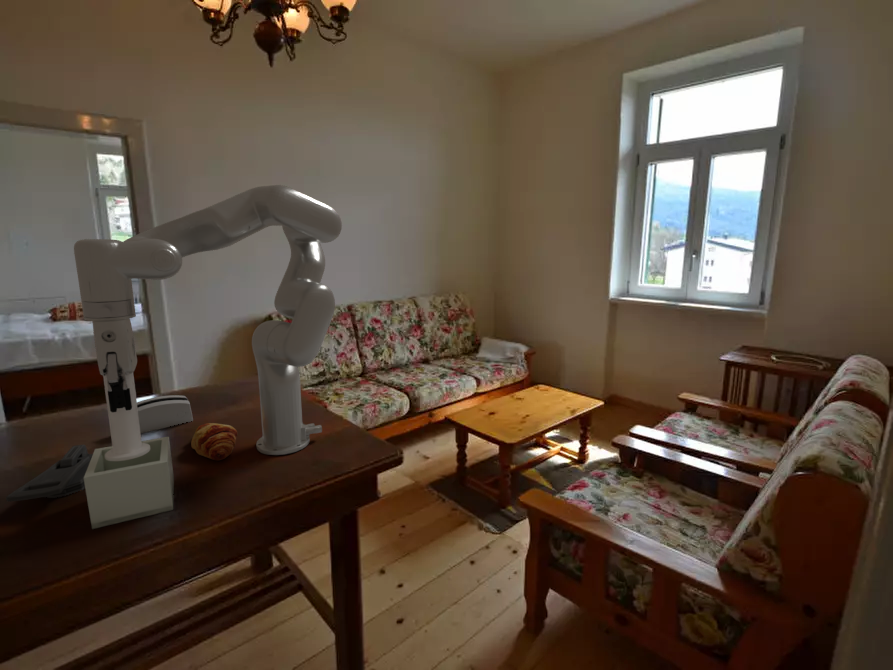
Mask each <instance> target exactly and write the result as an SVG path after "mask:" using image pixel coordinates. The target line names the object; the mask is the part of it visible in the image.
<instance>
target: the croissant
mask: <svg viewBox="0 0 893 670" xmlns="http://www.w3.org/2000/svg"><path fill="white" fill-rule="evenodd" d="M237 437H238V431H237V429H236V428H235V427H233V425H229V424H224V423H223V424H222V423H216V422H215V423H214V422H212V423H211V422H209V423H208V422H207V423H203V424H201V425H198V427H197V428H196V429H195V432H194V434H193V436H192V438H191V441H190V442H191V445H190V446H191V448H192V449H193V450H195V452H196V454H198V455H199V456H202V457H205V458H208V459H210V460H214V461H222V460H224V459H226V458H227V457H229V456H230V455H231V454H232V452H233V451H234V448H235V447H236V441H237Z"/></svg>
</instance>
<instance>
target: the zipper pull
mask: <svg viewBox="0 0 893 670" xmlns="http://www.w3.org/2000/svg"><path fill="white" fill-rule="evenodd" d="M92 456H93V453H89V452H88V449H87V446H86V444H77V445H72V446H71V447H70V448H69V450H68V451H67V452H66V453H65V454H64V456H62V459H59V460H58V461H56V462H55V463H54V464H52V465H51V466H50V467H48V468H47V469H46V470H45V471H43V472H42V473H40V474H38V475H37V476H36V477H33V479H31V480H30V481H28V482H26V483H25V484H23V485H22V486H20V487H19V488H17V489H16V490H14V491H12V492H11V493H9V494H8V495H7V496H6V498H5V499H6V502H8V503H10V502H18V501H19V502H21V501H27V500H33V499H38V498H46V497H47V498H46V499H56V498H57V497H58V498H63V497H62V496H64V497H67V496H66V495H68V496H70V495H69V494H71V495H73V494H72V493H74V494H76V493H75V492H77V493H79V492H78V491H80V490H82V491H84V489H85V483H84V476H85V473H86V471H87V468H88V466H89V463H90V461H91V458H92ZM80 492H81V491H80Z"/></svg>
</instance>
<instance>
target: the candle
mask: <svg viewBox="0 0 893 670" xmlns="http://www.w3.org/2000/svg"><path fill="white" fill-rule="evenodd" d="M108 336H110V335H108ZM105 369H106V367H105ZM103 370H104V369H103ZM118 373H122V370H118ZM102 377H103V385H104V392H105V393H104V394H105V401H106V407H107V415H108V416H107V417H108V422H109V432H110V437H111V439H110V440H111V446H112V447H113V449H111V450H109V451H108V452H106V454H105V459H106V460H108V461H125V460H130V459H134V458H137V457H140V456H142V455H145V454H146V453H148V452H149V451H150V445H149V444H146V443H142V442H141V441H142V435H141V434H142V433H140V425H139V417H138V408H137V402H138V401H137V392H136V384H135V377H134V372H133V373H131V374H130V373H129V372H126V379H127V388H130V396H131V403H132V409H131V410H126V409H125V407H123V408H117V412H111V411H110V405H109V398H108V385H107V377H106V376H103V375H102ZM119 378H121V379H122V377H119Z"/></svg>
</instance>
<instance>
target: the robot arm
mask: <svg viewBox="0 0 893 670" xmlns="http://www.w3.org/2000/svg"><path fill="white" fill-rule="evenodd" d="M342 224H343V223H342V218H341V216H340V214H339V213H338V212H337V211H336V209H334V208H333V207H332V206H330V205H329V204H326V203H324V202H322V201H320V200H318V199H316V198H313V197H311V196H309V195H307V194H306V193H303V192H301V191H299V190H297V189H294V188H292V187H290V186H285V185H281V184H274V185H263V186H257V187H252V188H249V189H247V190H245V191H243V192H240V193H238V194H236V195H233V196H231V197H229V198H226V199H224V200H222V201H220V202H217V203H215V204H212V205H210V206H208V207H206V208H203V209H199V210H196V211H195V212H192V213H189V214H186V215H183V216H182V217H179V218H176V219H173V220H171V221H168V222H164V223H162V224H159V225H156V226H154V227H152V228H150V229H148V230H144V231H142V232H140V233H138V234H135V235H132V236H131V237H129V238H127V239H125V240H118V239H108V238H106V239H104V238H91V239H90V238H88V239H87V238H85V239H80V240H79V239H78V240H77V241H76V242H75V243H74V246H73V255H74V261H75V266H76V268H75V269H76V274H77V279H78V287H79V294H80V295H79V296H80V300H81V301H80V303H81V307H82V315H83V320H84V321H88V322H92V330H93V338H94V345H95V347H94V348H95V353H96V359H97V365H98V371H99V374H100V375H101V376H102V377H103V376H106V377H107V385H108V398H109V405H110V411H111V412H117V408H123V407H125V409H126V410H131V409H132V403H131V396H130V388H127V379H126V372H129V373H130V374H131V373H133V374H134V372H135V370H136V367H137V364H138V357H137V351H136V346H135V345H136V344H135V339H134V331H133V327H132V322H131V319H132V318H136V305H135V299H134V291H133V289H134V288H133V283H132V282H133V281H132V280H133V279H135V280H137V279H138V280H151V281H152V280H153V281H162V280H167V279H170V278H172V277H174V276H175V275H177V274H178V273H179V272H180V270H181V269H182V266H183V258H185V257H187V256H191V255H193V254H194V255H195V254H197V253H198V254H199V253H202V252H211V251H218V250H220V249H224V248H228V247H231V246H232V245H235V244H237V243H238V242H240V241H242V240H244V239H246V238H248V237H250V236H252V235H254V234H256V233H258V232H260V231H262V230H264V229H266V228H268V227H271V226H272V227H273V226H276V227H277V226H279V227H280V226H281V228H282V231H283V234H284V236H285V237H286V240H287V241H288V244H289V249H290V258H289V262H288V264H287V267H286V271H285V273H284V275H283V277H282V279H281V282H280V284H279V286H278V287H277V288H278V289H277V291H276V294H275V296H274V302H273V304H274V308H275V310H276V311H277V312H278V314H280V315H281V316H283V317H286V318H289V319H292V320H291V322H287V321H284V320H283V321H282V320H275V319H273V320H266V321H264V322H262V323H260V324H259V325H257V326H256V328H255V329H254V331H253V334H252V337H251V347H252V352H253V356H254V360H255V363H256V369H257V377H258V389H259V390H258V391H259V404H260V417H261V430H262V436H261V437H260V438H259V439H258V440H257V441H256V450H257V451H258V452H260V453H261V454H264V455H269V456H282V455H283V456H284V455H289V454H293V453H297V452H299V451H300V450H303V449H304V448H306V447H307V446H308V445H309V443H310V435H313V434H319V433H322V432H323V427H322V424H318V425H315V423H308V424H306V423H304V422H303V411H302V391H301V375H300V369H299V368H300V367H301V368H302V367H305V366H307V365H309V364H311V363H312V362H313V361H314V360H315V358H316V357H317V356H318V354H319V352H320V349H321V347H322V346H323V345H322V344H323V343H324V341H325V337H326V335H327V332H328V330H329V327H330V325H331V322H332V320H333V316H334V314H335V308H336V299H335V296H334V293H333V291H332V290H331V289H330V287H329V286H327V285H326V284H324V283H322V282H321V281H322V279H323V276H324V272H325V269H326V268H325V267H326V257H325V254H324V251H323V250H324V249H323V247H322V245H321V243H322V244H326V243H331V242H334V241H335V240H336V239H337V238H338V237H339V236H340V234H341V231H342V229H343V227H342V226H343V225H342ZM108 335H110V336H108ZM105 367H106V369H105ZM103 369H104V370H103ZM118 370H122V373H118ZM119 377H122V379H121V378H119Z"/></svg>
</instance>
